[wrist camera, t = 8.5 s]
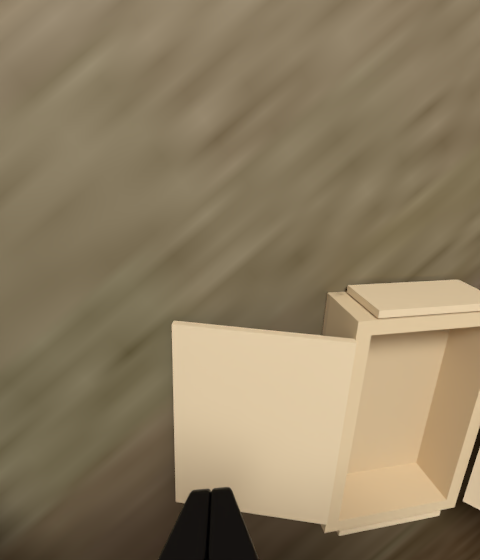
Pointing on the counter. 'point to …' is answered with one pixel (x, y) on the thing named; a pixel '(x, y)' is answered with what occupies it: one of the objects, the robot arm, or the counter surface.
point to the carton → (335, 408)
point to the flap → (474, 486)
